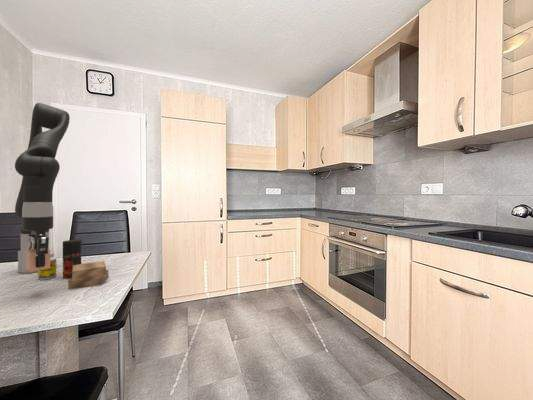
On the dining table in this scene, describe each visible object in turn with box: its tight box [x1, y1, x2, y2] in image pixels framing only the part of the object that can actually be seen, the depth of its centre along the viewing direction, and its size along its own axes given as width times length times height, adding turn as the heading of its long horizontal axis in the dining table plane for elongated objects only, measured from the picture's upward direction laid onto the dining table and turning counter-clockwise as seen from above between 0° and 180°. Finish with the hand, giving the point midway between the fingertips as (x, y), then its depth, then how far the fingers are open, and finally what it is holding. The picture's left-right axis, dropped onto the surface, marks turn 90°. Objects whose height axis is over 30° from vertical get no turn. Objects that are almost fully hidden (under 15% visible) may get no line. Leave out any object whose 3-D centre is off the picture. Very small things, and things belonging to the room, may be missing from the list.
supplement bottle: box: [37, 251, 57, 281], centre depth 95 cm, size 6×6×10 cm
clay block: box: [26, 248, 51, 272], centre depth 78 cm, size 5×5×6 cm
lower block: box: [67, 269, 109, 290], centre depth 90 cm, size 10×10×4 cm
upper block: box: [72, 260, 107, 281], centre depth 90 cm, size 10×10×4 cm
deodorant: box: [62, 239, 82, 280], centre depth 97 cm, size 6×6×15 cm
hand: (38, 265), depth 78 cm, fingers closed on clay block, 5 cm apart
